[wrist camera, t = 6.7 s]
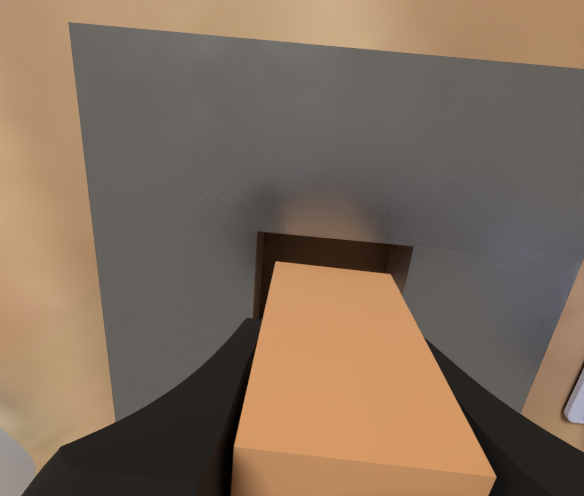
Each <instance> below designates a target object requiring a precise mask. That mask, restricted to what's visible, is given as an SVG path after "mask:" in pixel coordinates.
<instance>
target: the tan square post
mask: <svg viewBox="0 0 584 496" xmlns="http://www.w3.org/2000/svg"><path fill="white" fill-rule="evenodd" d="M495 480H496V475H495V473H494V471H493V469H492V467H491V465H490V463H489V461H488V460H487V458H486V456H485V454H484V452H483V450H482V448H481V446H480V444H479V442H478V440H477V439H476V437H475V435H474V433H473V431H472V429H471V427H470V425H469V423H468V421H467V419H466V417H465V416H464V414H463V412H462V410H461V408H460V406H459V404H458V402H457V400H456V398H455V396H454V395H453V393H452V391H451V389H450V387H449V385H448V383H447V381H446V379H445V377H444V375H443V373H442V372H441V370H440V368H439V366H438V364H437V362H436V360H435V358H434V356H433V354H432V352H431V350H430V349H429V347H428V345H427V343H426V341H425V339H424V337H423V335H422V333H421V331H420V329H419V328H418V326H417V324H416V322H415V320H414V318H413V316H412V314H411V312H410V310H409V308H408V306H407V305H406V303H405V301H404V299H403V297H402V295H401V293H400V291H399V289H398V287H397V285H396V284H395V282H394V280H393V278H392V276H391V274H384V273H375V272H366V271H357V270H348V269H340V268H331V267H322V266H313V265H304V264H295V263H286V262H278V261H276V262H275V266H274V271H273V275H272V280H271V284H270V289H269V293H268V297H267V302H266V306H265V311H264V315H263V320H262V324H261V329H260V333H259V337H258V342H257V346H256V351H255V355H254V360H253V364H252V369H251V373H250V377H249V382H248V386H247V391H246V395H245V400H244V404H243V409H242V413H241V417H240V422H239V426H238V431H237V435H236V440H235V444H234V453H233V470H232V486H231V496H488V495H489V493H490V491H491V489H492V486H493V484H494V482H495Z"/></svg>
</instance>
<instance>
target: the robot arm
mask: <svg viewBox="0 0 584 496" xmlns="http://www.w3.org/2000/svg"><path fill="white" fill-rule="evenodd" d="M262 320H263V319H255V318H246V319H245V320H244V321H243V322H242V323H241V325H240V326H239V327H238V328H237V330H236V331H235V332H234V333H233V334H232V335H231V337H230V338H229V339H228V340H227V341H226V342H225V343H224V344H223V345H222V346H221V347H220V348H219V349H218V351H217V352H216V353H215V354H214V355H212V356H211V357H210V358H209V359H208V360H207V361H206V362H205V363H204V364H203V365H202V366H201V367H199V368H198V369H197V370H196V371H195V372H194V373H192V374H191V375H190V376H189V377H187V378H186V379H185V380H184V381H182V382H181V383H180V384H178V385H177V386H176V387H174V388H173V389H171V390H170V391H169V392H167V393H166V394H164V395H162V396H161V397H159V398H158V399H156V400H155V401H153V402H152V403H150V404H148V405H147V406H145V407H143V408H141V409H140V410H138V411H136V412H134V413H133V414H131V415H129V416H127V417H125V418H123V419H121V420H119V421H117V422H115V423H113V424H111V425H109V426H107V427H105V428H103V429H101V430H98V431H96V432H94V433H92V434H89V435H87V436H85V437H82V438H80V439H78V440H76V441H73V442H71V443H69V444H66V445H64V446H61V447H60V448H59V450H58V451H57V452H56V453H55V454H54V455H53V456H52V458H51V459H50V460H49V461H48V462H47V463H46V464H45V465H44V467H43V468H42V469H41V470H40V472H39V473H38V474H37V475H36V477H35V478H34V479H33V481H32V482H31V483H30V485H29V486H28V487H27V489H26V490H25V491H24V493H23V494H22V495H21V496H231V486H232V470H233V453H234V444H235V440H236V435H237V431H238V426H239V422H240V417H241V413H242V409H243V404H244V400H245V395H246V391H247V386H248V382H249V377H250V373H251V369H252V364H253V360H254V355H255V351H256V346H257V342H258V337H259V333H260V329H261V324H262ZM424 339H425V341H426V343H427V345H428V347H429V349H430V350H431V352H432V354H433V356H434V358H435V360H436V362H437V364H438V366H439V368H440V370H441V372H442V373H443V375H444V377H445V379H446V381H447V383H448V385H449V387H450V389H451V391H452V393H453V395H454V396H455V398H456V400H457V402H458V404H459V406H460V408H461V410H462V412H463V414H464V416H465V417H466V419H467V421H468V423H469V425H470V427H471V429H472V431H473V433H474V435H475V437H476V439H477V440H478V442H479V444H480V446H481V448H482V450H483V452H484V454H485V456H486V458H487V460H488V461H489V463H490V465H491V467H492V469H493V471H494V473H495V475H496V480H495V482H494V484H493V486H492V489H491V491H490V493H489V495H488V496H584V452H582V451H580V450H578V449H577V448H575V447H573V446H571V445H570V444H568V443H566V442H565V441H563V440H561V439H559V438H558V437H556V436H554V435H553V434H551V433H549V432H548V431H546V430H544V429H543V428H541V427H540V426H538V425H536V424H535V423H533V422H532V421H530V420H529V419H527V418H526V417H524V416H523V415H521V414H520V413H518V412H517V411H515V410H514V409H512V408H511V407H509V406H508V405H507V404H505V403H504V402H502V401H501V400H500V399H498V398H497V397H496V396H494V395H493V394H492V393H490V392H489V391H488V390H486V389H485V388H484V387H483V386H481V385H480V384H479V383H477V382H476V381H475V380H474V379H473V378H471V377H470V376H469V375H468V374H466V373H465V372H464V371H463V370H462V369H460V368H459V367H458V366H457V365H456V364H455V363H453V362H452V361H451V360H450V359H449V358H448V357H447V356H445V355H444V354H443V353H442V352H441V351H440V350H439V349H437V348H436V347H435V346H434V345H433V344H432V343H430V342H429V341H428V340H427V339H426V338H424ZM564 415H565V417H566V418H567V419H568V420H569V421H570V422H573V423H582V424H584V369H583V371H582V373H581V375H580V377H579V380H578V382H577V384H576V386H575V388H574V390H573V393H572V395H571V397H570V399H569V401H568V403H567V405H566V408H565V410H564Z"/></svg>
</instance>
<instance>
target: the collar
mask: <svg viewBox="0 0 584 496" xmlns="http://www.w3.org/2000/svg"><path fill="white" fill-rule="evenodd" d="M68 23H69V31H70V40H71V48H72V56H73V65H74V73H75V82H76V90H77V99H78V107H79V116H80V124H81V133H82V141H83V149H84V158H85V166H86V175H87V183H88V192H89V200H90V209H91V217H92V226H93V234H94V242H95V251H96V259H97V268H98V276H99V285H100V293H101V302H102V310H103V319H104V327H105V335H106V344H107V352H108V361H109V369H110V378H111V386H112V395H113V403H114V412H115V420H116V422H117V421H119V420H121V419H123V418H125V417H127V416H129V415H131V414H133V413H134V412H136V411H138V410H140V409H141V408H143V407H145V406H147V405H148V404H150V403H152V402H153V401H155V400H156V399H158V398H159V397H161V396H162V395H164V394H166V393H167V392H169V391H170V390H171V389H173V388H174V387H176V386H177V385H178V384H180V383H181V382H182V381H184V380H185V379H186V378H187V377H189V376H190V375H191V374H192V373H194V372H195V371H196V370H197V369H198V368H199V367H201V366H202V365H203V364H204V363H205V362H206V361H207V360H208V359H209V358H210V357H211V356H212V355H214V354H215V353H216V352H217V351H218V349H219V348H220V347H221V346H222V345H223V344H224V343H225V342H226V341H227V340H228V339H229V338H230V337H231V335H232V334H233V333H234V332H235V331H236V330H237V328H238V327H239V326H240V325H241V323H242V322H243V321H244V320H245V319H246V318H255V319H259V315H260V299H261V283H262V267H263V251H264V235H265V232H269V233H280V234H291V235H301V236H312V237H322V238H333V239H343V240H354V241H364V242H375V243H385V244H391V248H390V254H389V259H388V264H387V269H386V274H391V276H392V278H393V280H394V282H395V284H396V285H397V287H398V289H399V291H400V293H401V295H402V297H403V299H404V301H405V303H406V305H407V306H408V308H409V310H410V312H411V314H412V316H413V318H414V320H415V322H416V324H417V326H418V328H419V329H420V331H421V333H422V335H423V337H424V338H426V339H427V340H428V341H429V342H430V343H432V344H433V345H434V346H435V347H436V348H437V349H439V350H440V351H441V352H442V353H443V354H444V355H445V356H447V357H448V358H449V359H450V360H451V361H452V362H453V363H455V364H456V365H457V366H458V367H459V368H460V369H462V370H463V371H464V372H465V373H466V374H468V375H469V376H470V377H471V378H473V379H474V380H475V381H476V382H477V383H479V384H480V385H481V386H483V387H484V388H485V389H486V390H488V391H489V392H490V393H492V394H493V395H494V396H496V397H497V398H498V399H500V400H501V401H502V402H504V403H505V404H507V405H508V406H509V407H511V408H512V409H514V410H515V411H517V412H518V413H521V411H522V408H523V406H524V404H525V401H526V399H527V396H528V394H529V391H530V389H531V386H532V384H533V381H534V379H535V377H536V374H537V372H538V369H539V367H540V364H541V362H542V359H543V357H544V355H545V352H546V350H547V347H548V345H549V342H550V340H551V337H552V335H553V333H554V330H555V328H556V325H557V323H558V320H559V318H560V315H561V313H562V311H563V308H564V306H565V303H566V301H567V298H568V296H569V293H570V291H571V289H572V286H573V284H574V281H575V279H576V276H577V274H578V271H579V269H580V267H581V264H582V262H583V259H584V69H577V68H566V67H555V66H544V65H533V64H522V63H511V62H500V61H489V60H478V59H467V58H456V57H445V56H434V55H423V54H412V53H401V52H390V51H379V50H368V49H357V48H346V47H335V46H324V45H313V44H302V43H291V42H280V41H268V40H257V39H246V38H235V37H224V36H213V35H202V34H191V33H180V32H169V31H158V30H147V29H136V28H125V27H114V26H103V25H92V24H81V23H70V22H68Z"/></svg>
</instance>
